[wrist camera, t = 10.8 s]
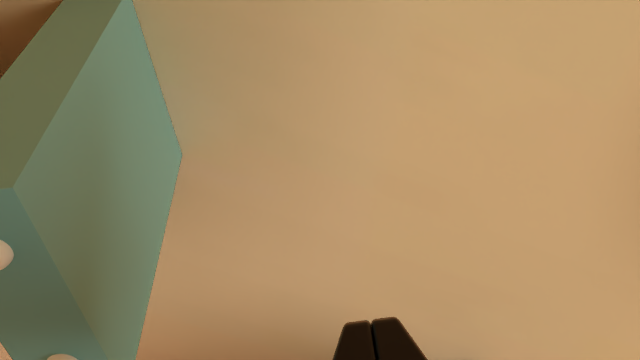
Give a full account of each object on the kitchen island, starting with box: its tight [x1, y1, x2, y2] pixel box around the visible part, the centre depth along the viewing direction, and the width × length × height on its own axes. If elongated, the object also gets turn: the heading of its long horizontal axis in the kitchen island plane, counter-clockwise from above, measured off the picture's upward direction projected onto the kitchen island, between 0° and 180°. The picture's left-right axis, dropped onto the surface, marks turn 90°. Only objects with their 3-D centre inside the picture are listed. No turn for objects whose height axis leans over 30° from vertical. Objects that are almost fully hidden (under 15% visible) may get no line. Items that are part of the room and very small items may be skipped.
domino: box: [0, 0, 182, 360], centre depth 13 cm, size 5×2×8 cm, turn 7°
